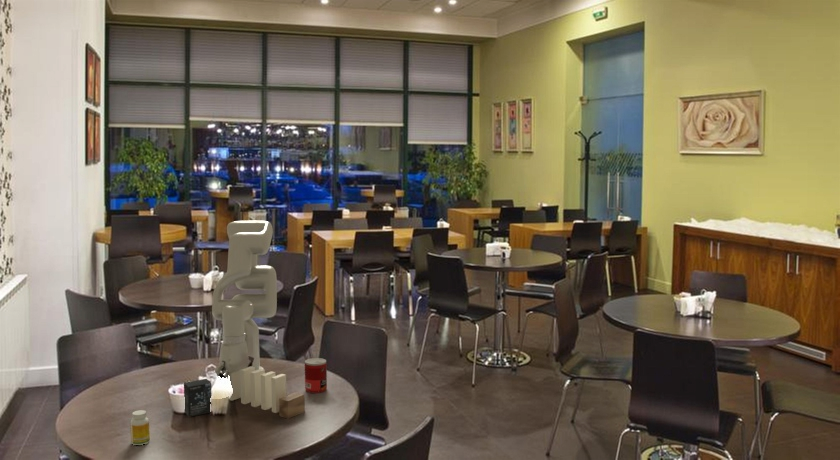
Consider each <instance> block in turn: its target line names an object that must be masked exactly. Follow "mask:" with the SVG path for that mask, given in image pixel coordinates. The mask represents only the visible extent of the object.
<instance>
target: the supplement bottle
mask: <svg viewBox="0 0 840 460" xmlns="http://www.w3.org/2000/svg"><path fill="white" fill-rule="evenodd" d="M131 413H132V414H131V416H132V419H131V420H130V422H129V424H130V425H129V426H130V430H129V431H130V444H131V445H132V444H133V445H132V446H134V445H142V446H144V445H143V444H145V445H147V444H149V443H150V441H151V440H150V439H151V438H150V420H149V418H148V417H147V411H146V410H144V409H141V410H140V409H139V410H134V411H133V412H131ZM148 442H149V443H148Z"/></svg>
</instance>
